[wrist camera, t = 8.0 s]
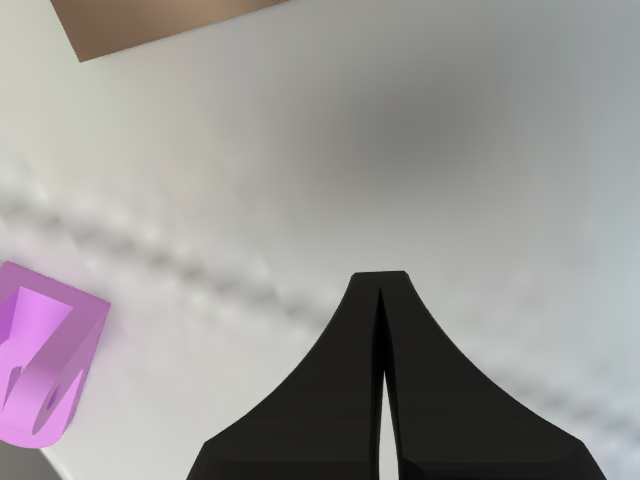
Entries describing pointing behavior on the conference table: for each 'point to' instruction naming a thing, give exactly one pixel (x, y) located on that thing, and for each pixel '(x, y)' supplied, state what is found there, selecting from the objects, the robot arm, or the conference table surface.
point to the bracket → (43, 354)
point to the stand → (139, 20)
